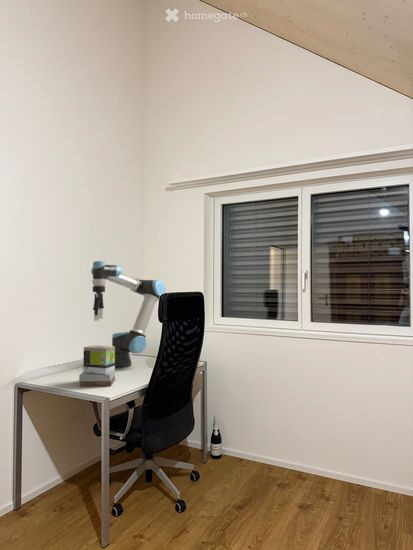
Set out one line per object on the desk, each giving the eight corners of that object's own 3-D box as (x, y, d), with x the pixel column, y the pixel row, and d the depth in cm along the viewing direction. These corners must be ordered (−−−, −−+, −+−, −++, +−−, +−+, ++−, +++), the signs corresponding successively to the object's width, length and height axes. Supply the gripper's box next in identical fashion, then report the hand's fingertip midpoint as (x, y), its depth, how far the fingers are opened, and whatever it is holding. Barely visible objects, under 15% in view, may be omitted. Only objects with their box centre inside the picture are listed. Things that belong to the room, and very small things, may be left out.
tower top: (85, 375, 235) (85, 369, 235) (114, 375, 235) (114, 369, 235) (79, 381, 221) (79, 375, 221) (110, 381, 221) (110, 374, 221)
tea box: (115, 371, 230) (115, 345, 231) (105, 375, 221) (106, 348, 221) (92, 369, 235) (93, 344, 235) (82, 373, 225) (83, 346, 226)
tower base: (85, 381, 234) (85, 375, 234) (114, 381, 236) (114, 375, 236) (79, 387, 220) (79, 381, 221) (110, 387, 222) (111, 380, 222)
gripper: (96, 285, 261) (96, 318, 261) (88, 285, 236) (88, 321, 236) (108, 285, 262) (107, 318, 261) (101, 285, 237) (100, 321, 236)
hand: (98, 319), depth 249 cm, fingers open, 13 cm apart
